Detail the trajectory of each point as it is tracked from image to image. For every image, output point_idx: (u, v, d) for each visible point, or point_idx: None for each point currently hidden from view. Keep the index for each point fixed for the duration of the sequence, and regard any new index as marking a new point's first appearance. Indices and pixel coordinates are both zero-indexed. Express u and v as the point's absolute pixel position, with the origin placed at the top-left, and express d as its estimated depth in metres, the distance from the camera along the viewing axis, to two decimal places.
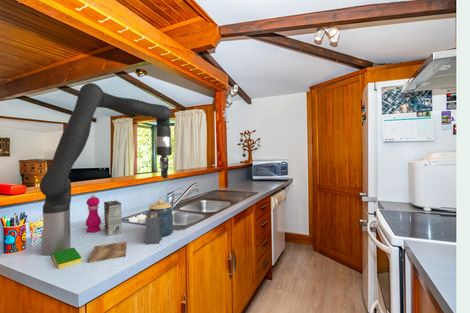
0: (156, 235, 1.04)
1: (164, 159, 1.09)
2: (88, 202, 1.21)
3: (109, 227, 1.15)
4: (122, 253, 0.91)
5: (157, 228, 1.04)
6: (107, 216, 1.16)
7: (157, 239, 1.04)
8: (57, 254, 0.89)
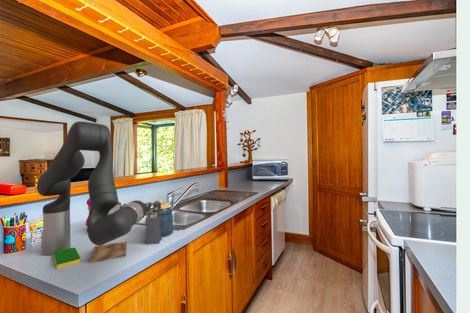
0: (156, 235, 1.04)
1: None
2: (88, 202, 1.21)
3: None
4: (122, 253, 0.91)
5: (157, 228, 1.04)
6: None
7: (157, 239, 1.04)
8: (57, 254, 0.90)
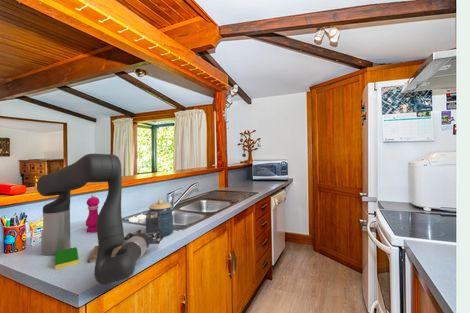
0: None
1: None
2: (88, 202, 1.21)
3: None
4: None
5: (157, 228, 1.04)
6: None
7: None
8: (58, 254, 0.90)
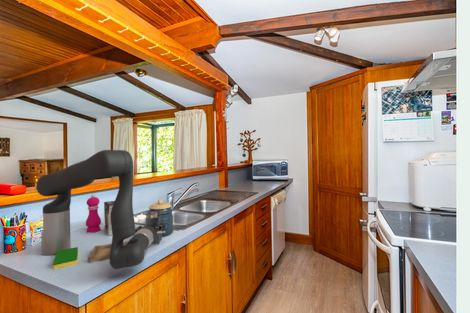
0: (156, 235, 1.04)
1: None
2: (88, 202, 1.21)
3: (109, 227, 1.15)
4: None
5: None
6: (107, 216, 1.16)
7: (157, 239, 1.04)
8: (59, 253, 0.90)
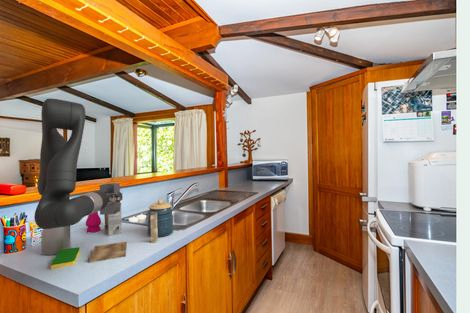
0: (111, 204, 0.92)
1: None
2: None
3: (109, 227, 1.15)
4: (122, 253, 0.91)
5: None
6: (107, 216, 1.16)
7: (112, 209, 0.92)
8: (60, 253, 0.91)
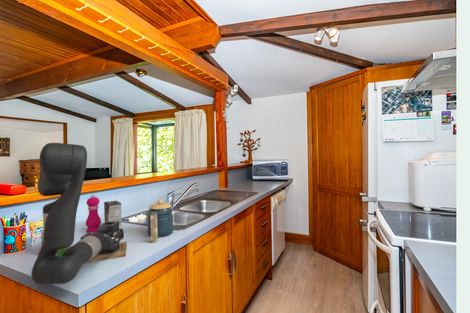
0: (110, 244, 0.92)
1: None
2: (88, 202, 1.21)
3: None
4: (122, 253, 0.91)
5: None
6: (107, 216, 1.16)
7: (111, 249, 0.92)
8: (61, 252, 0.91)
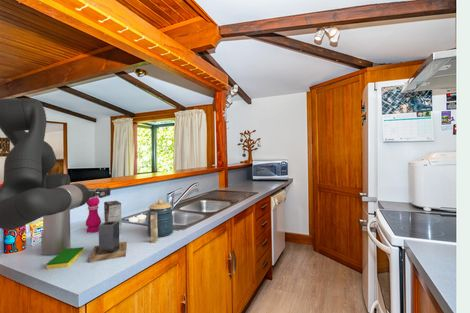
0: (110, 244, 0.92)
1: None
2: (88, 202, 1.21)
3: None
4: (122, 253, 0.91)
5: (111, 237, 0.92)
6: (107, 216, 1.16)
7: (111, 249, 0.92)
8: (62, 252, 0.91)
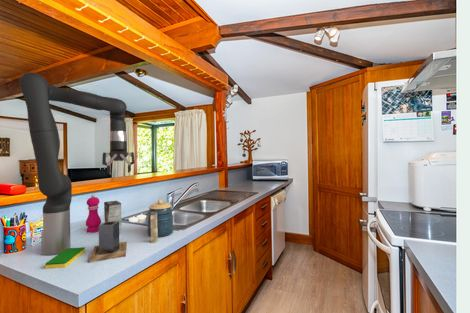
0: (110, 244, 0.92)
1: (103, 154, 1.10)
2: (88, 202, 1.21)
3: None
4: (122, 253, 0.91)
5: (111, 237, 0.92)
6: (107, 216, 1.16)
7: (111, 249, 0.92)
8: (63, 252, 0.92)
